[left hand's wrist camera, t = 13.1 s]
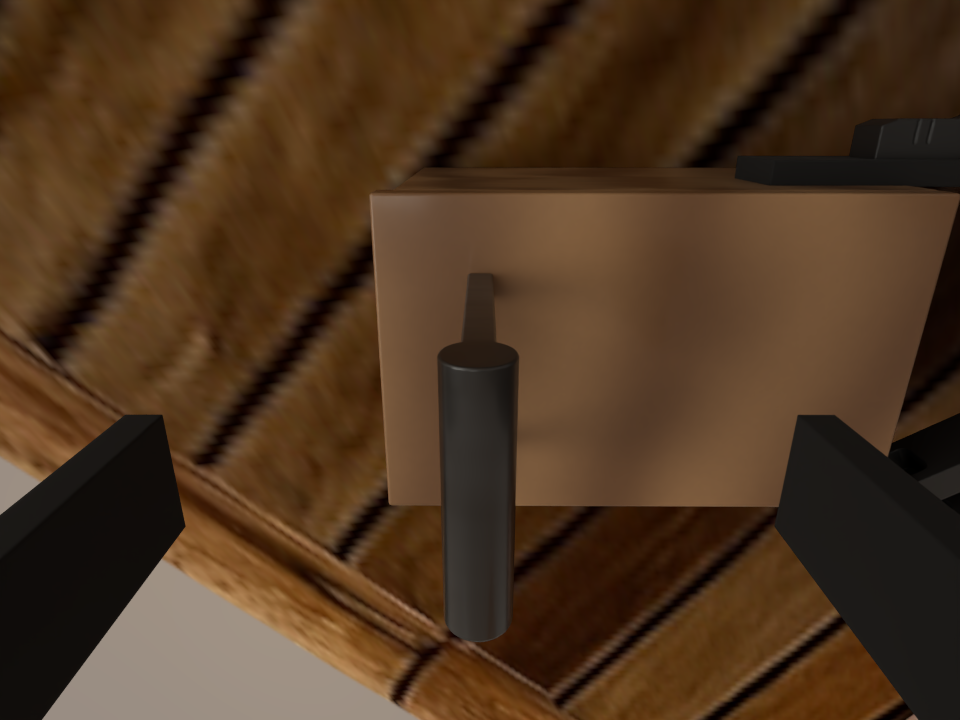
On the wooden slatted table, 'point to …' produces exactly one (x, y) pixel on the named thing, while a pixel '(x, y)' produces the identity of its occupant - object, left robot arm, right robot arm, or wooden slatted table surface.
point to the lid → (632, 349)
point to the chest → (600, 180)
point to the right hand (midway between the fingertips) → (727, 329)
